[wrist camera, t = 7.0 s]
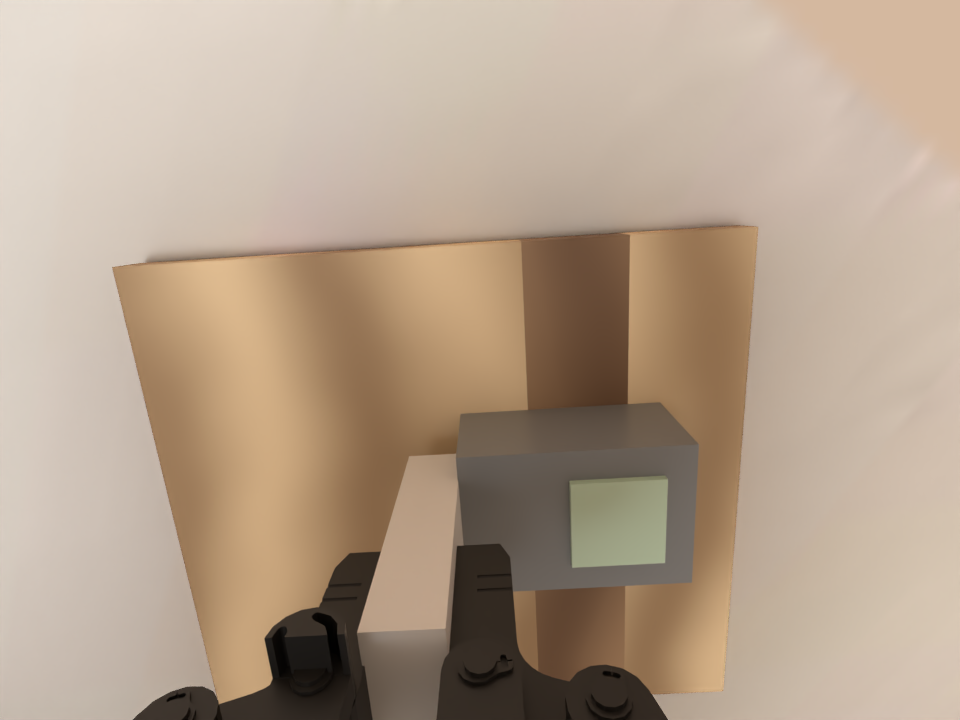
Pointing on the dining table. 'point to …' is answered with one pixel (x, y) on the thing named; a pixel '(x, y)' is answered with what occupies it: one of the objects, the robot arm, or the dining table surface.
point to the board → (435, 417)
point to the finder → (581, 494)
